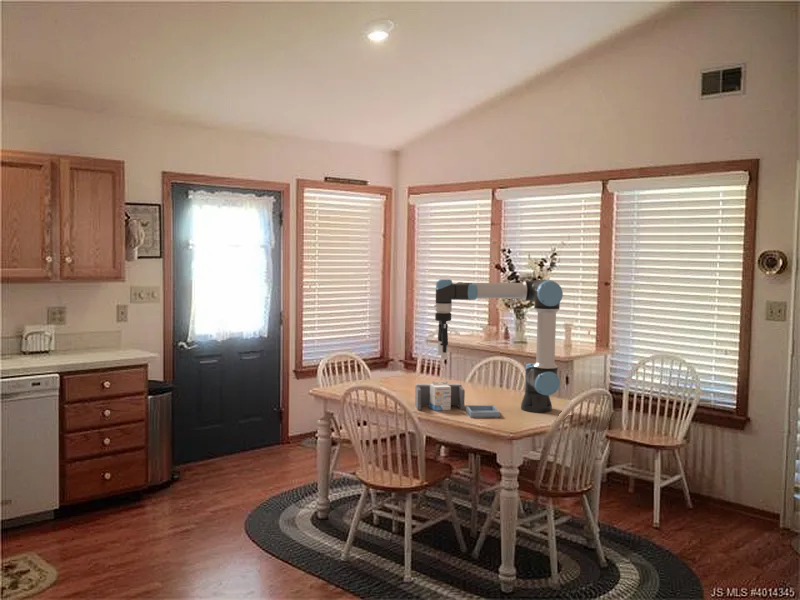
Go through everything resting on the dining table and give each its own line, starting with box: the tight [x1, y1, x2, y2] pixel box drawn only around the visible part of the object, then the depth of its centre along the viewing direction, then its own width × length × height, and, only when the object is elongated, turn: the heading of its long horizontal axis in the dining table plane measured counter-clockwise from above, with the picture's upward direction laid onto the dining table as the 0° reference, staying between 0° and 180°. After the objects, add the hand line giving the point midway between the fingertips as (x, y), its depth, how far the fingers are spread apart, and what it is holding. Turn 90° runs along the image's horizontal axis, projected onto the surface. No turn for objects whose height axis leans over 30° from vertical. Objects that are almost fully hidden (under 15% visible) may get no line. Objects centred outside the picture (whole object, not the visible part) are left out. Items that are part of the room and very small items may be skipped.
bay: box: [414, 383, 466, 411], centre depth 354 cm, size 23×13×11 cm, turn 94°
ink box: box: [429, 380, 452, 411], centre depth 352 cm, size 9×8×13 cm
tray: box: [464, 404, 501, 419], centre depth 342 cm, size 14×15×3 cm
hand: (442, 357), depth 335 cm, fingers open, 13 cm apart
